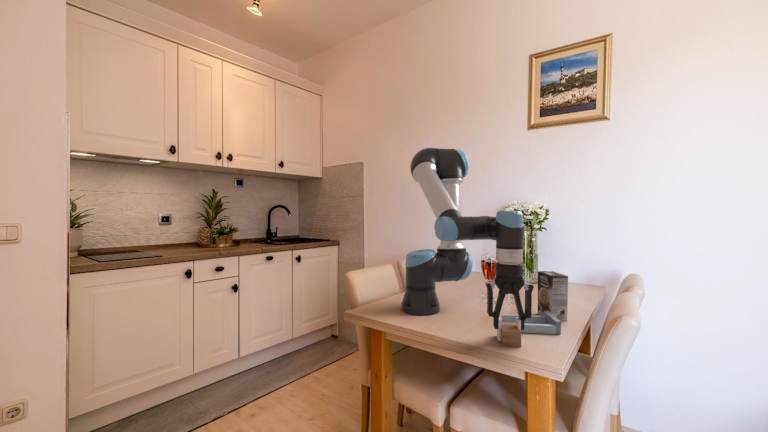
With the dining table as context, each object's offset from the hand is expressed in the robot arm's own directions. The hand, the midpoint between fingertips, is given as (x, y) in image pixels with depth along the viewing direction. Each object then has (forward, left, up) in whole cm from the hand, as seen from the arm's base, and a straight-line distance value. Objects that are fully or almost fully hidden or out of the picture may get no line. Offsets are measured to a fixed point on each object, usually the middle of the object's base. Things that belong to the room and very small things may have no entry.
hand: (508, 339), depth 97 cm
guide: (+9, +13, 0) cm, 16 cm away
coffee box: (+21, +25, -1) cm, 32 cm away
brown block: (0, 0, -1) cm, 1 cm away
